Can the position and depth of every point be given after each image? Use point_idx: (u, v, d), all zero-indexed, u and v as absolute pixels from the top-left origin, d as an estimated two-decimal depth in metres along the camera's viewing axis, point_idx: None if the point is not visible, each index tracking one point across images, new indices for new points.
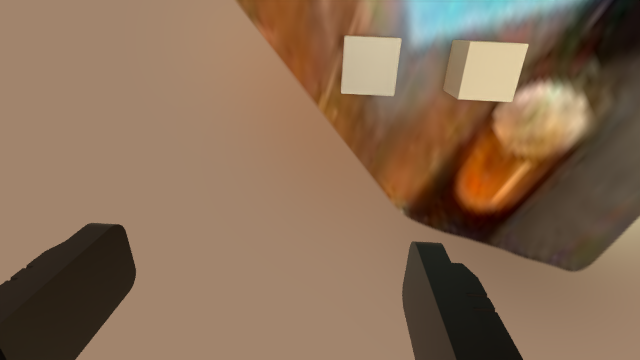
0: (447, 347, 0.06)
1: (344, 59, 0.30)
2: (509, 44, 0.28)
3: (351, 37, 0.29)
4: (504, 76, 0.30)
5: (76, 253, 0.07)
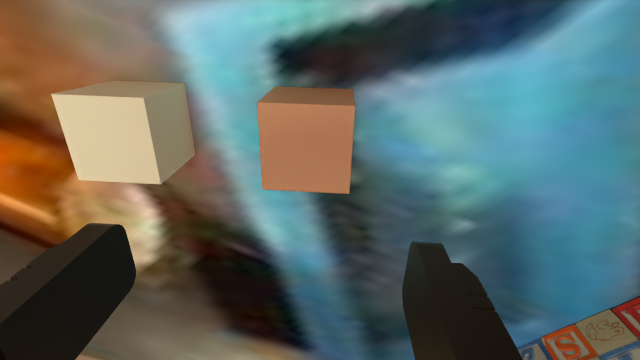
0: (447, 346, 0.06)
1: None
2: (153, 158, 0.18)
3: None
4: (109, 160, 0.19)
5: (76, 253, 0.07)
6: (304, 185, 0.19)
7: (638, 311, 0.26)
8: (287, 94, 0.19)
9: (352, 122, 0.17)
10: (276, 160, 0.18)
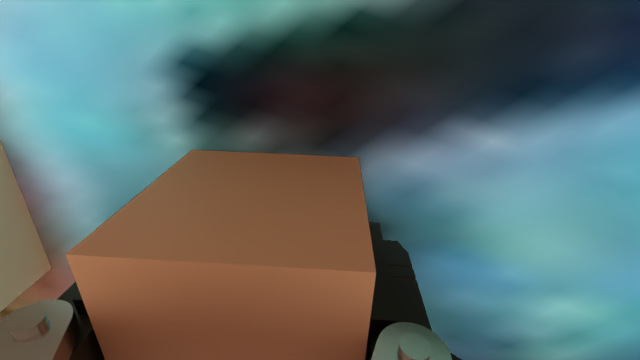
0: None
1: None
2: None
3: None
4: None
5: None
6: None
7: None
8: (196, 190, 0.07)
9: (366, 313, 0.05)
10: None
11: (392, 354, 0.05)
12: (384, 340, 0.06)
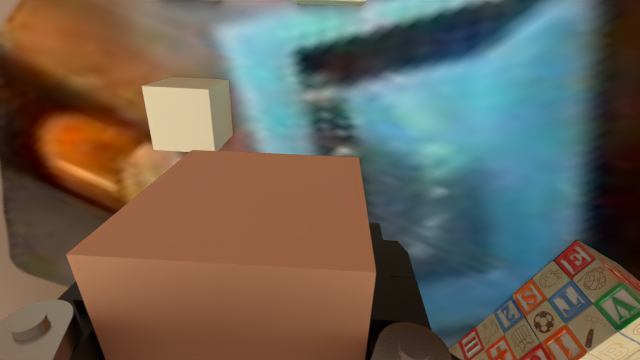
0: None
1: None
2: (211, 133, 0.25)
3: None
4: (178, 135, 0.26)
5: None
6: None
7: (570, 257, 0.33)
8: (196, 191, 0.07)
9: (366, 312, 0.05)
10: None
11: (392, 354, 0.05)
12: (383, 339, 0.06)
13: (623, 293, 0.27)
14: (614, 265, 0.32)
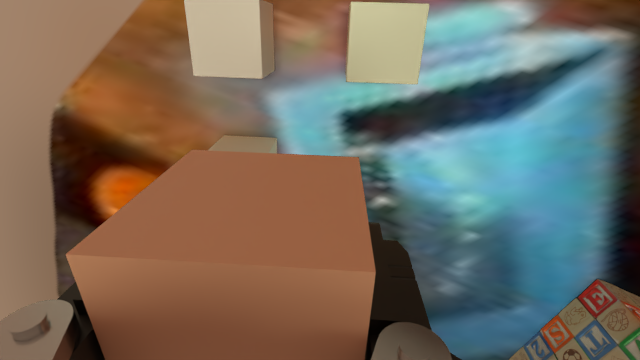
0: None
1: (229, 0, 0.21)
2: None
3: (258, 9, 0.22)
4: None
5: None
6: None
7: (592, 295, 0.35)
8: (196, 190, 0.07)
9: (365, 312, 0.05)
10: None
11: (392, 354, 0.05)
12: (384, 339, 0.06)
13: None
14: (636, 301, 0.34)
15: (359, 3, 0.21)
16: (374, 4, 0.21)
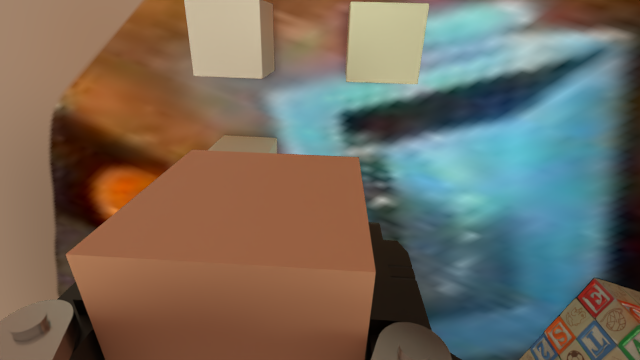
0: None
1: (229, 0, 0.21)
2: None
3: (258, 9, 0.22)
4: None
5: None
6: None
7: (591, 295, 0.35)
8: (196, 190, 0.07)
9: (365, 312, 0.05)
10: None
11: (392, 354, 0.05)
12: (384, 339, 0.06)
13: None
14: (635, 298, 0.34)
15: (359, 3, 0.21)
16: (374, 4, 0.21)
